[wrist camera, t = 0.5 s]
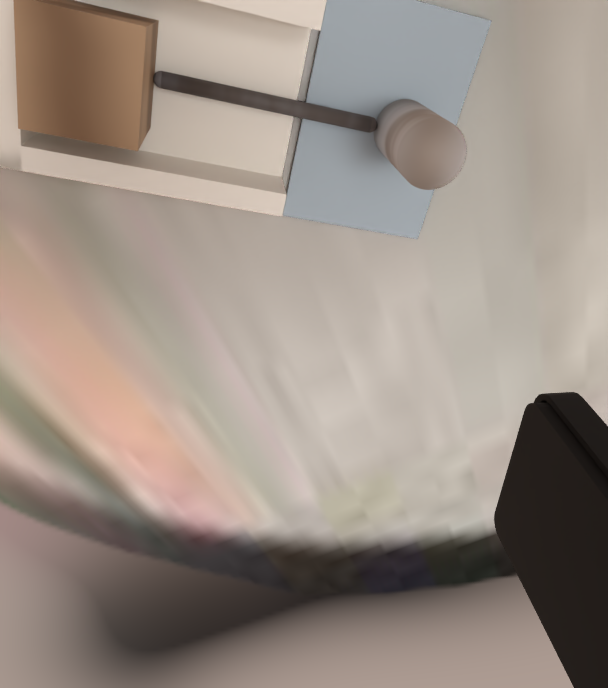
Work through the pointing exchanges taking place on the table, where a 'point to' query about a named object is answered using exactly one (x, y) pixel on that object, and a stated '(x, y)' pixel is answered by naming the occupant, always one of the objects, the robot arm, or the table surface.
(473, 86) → the table surface
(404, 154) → the rod with block end
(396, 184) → the mat
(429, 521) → the table surface
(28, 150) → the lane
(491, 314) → the table surface
